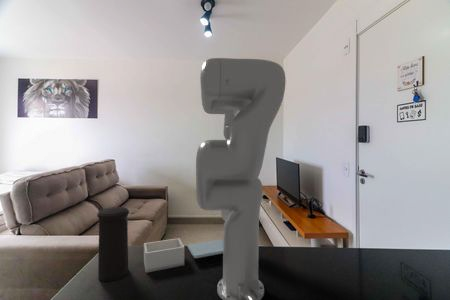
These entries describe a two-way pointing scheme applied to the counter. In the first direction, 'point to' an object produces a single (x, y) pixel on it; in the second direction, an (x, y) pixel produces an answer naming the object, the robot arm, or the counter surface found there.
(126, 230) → the container
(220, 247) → the lid
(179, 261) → the tub
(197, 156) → the robot arm
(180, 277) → the counter surface
